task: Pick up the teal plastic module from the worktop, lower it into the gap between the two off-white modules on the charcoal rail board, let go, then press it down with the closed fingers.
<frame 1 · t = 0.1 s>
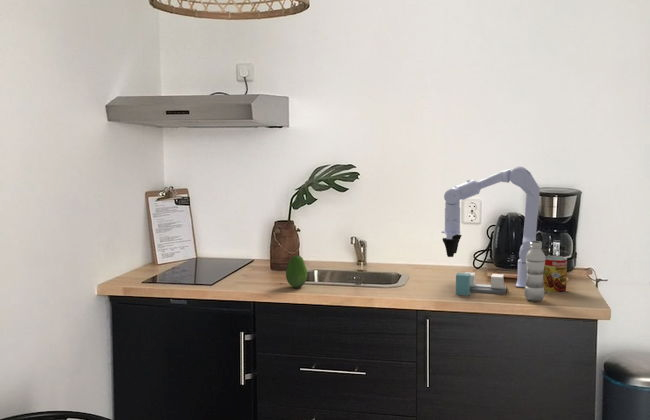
hand: (451, 254, 240), 10 cm above the worktop, fingers open, 7 cm apart
rail board: (482, 289, 227), on the worktop
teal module: (463, 293, 222), on the worktop
plastic bottle: (534, 300, 212), on the worktop
canned food: (554, 291, 224), on the worktop
avocado: (296, 287, 234), on the worktop
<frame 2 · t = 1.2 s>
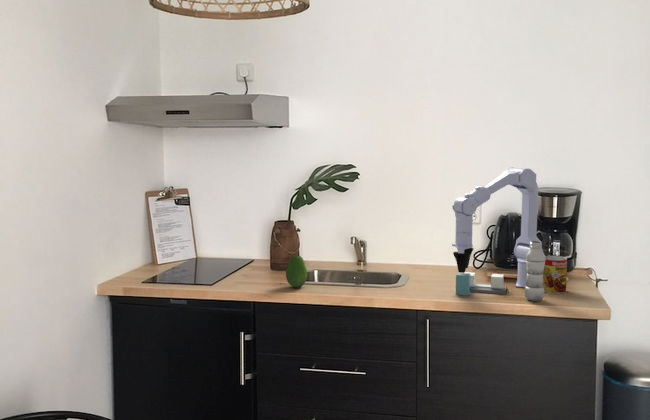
hand: (463, 270, 221), 8 cm above the worktop, fingers open, 7 cm apart
nothing on the worktop moved.
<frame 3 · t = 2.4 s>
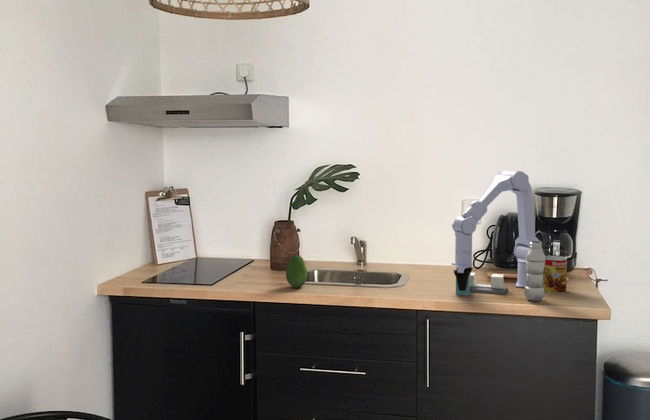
hand: (463, 288, 222), 2 cm above the worktop, fingers closed on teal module, 4 cm apart
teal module: (463, 293, 222), on the worktop, touching gripper
everything else where it was.
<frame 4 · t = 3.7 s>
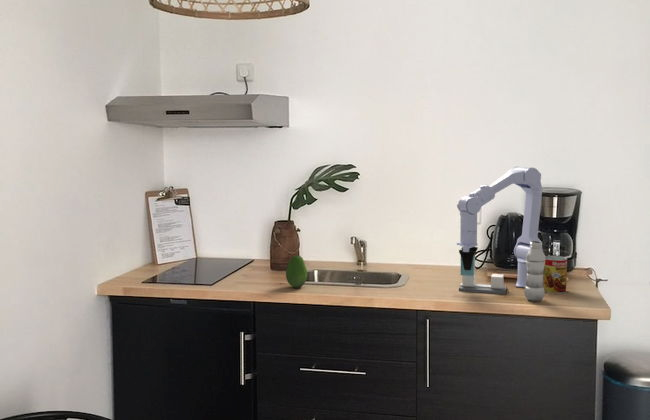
hand: (468, 268, 222), 9 cm above the worktop, fingers closed on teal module, 4 cm apart
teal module: (467, 274, 222), point 7 cm above the worktop, touching gripper
everything else where it was.
when the fingers open (5 cm above the worktop, at t = 5.4 s): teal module drops 1 cm, resting on rail board.
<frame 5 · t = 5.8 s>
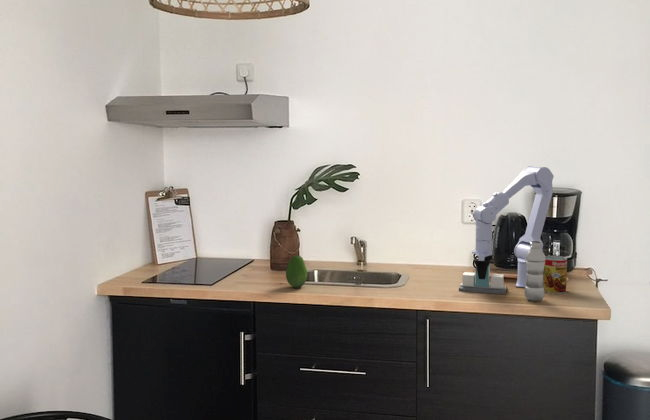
hand: (483, 276, 227), 5 cm above the worktop, fingers open, 7 cm apart
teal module: (482, 285, 227), point 1 cm above the worktop, touching rail board
everything else where it was.
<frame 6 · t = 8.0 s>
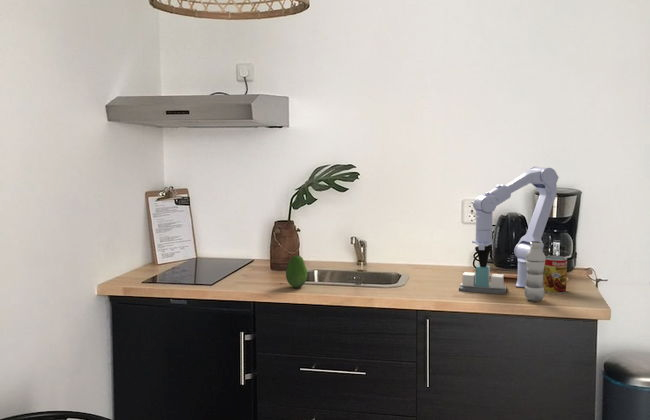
hand: (483, 266, 226), 9 cm above the worktop, fingers closed
nothing on the worktop moved.
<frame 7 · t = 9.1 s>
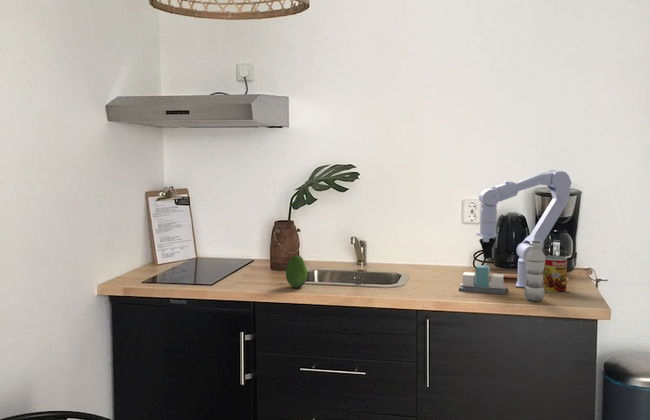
hand: (487, 258, 231), 10 cm above the worktop, fingers closed
nothing on the worktop moved.
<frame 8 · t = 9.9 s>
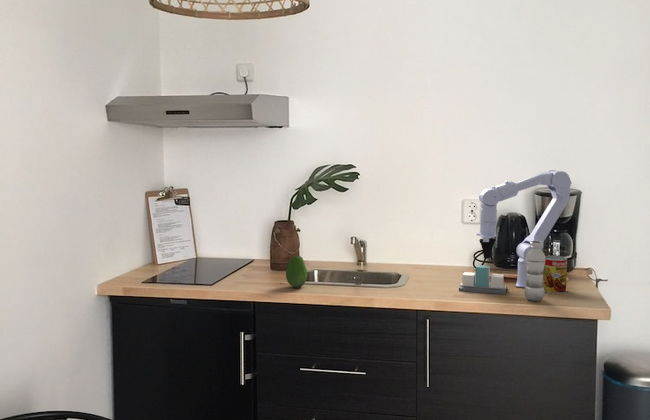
hand: (487, 258, 231), 10 cm above the worktop, fingers closed
nothing on the worktop moved.
at the end: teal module 0.2 cm off-centre on the rail board, point 1.5 cm above the rail board's base; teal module tilted 0°; the gripper is holding nothing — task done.
